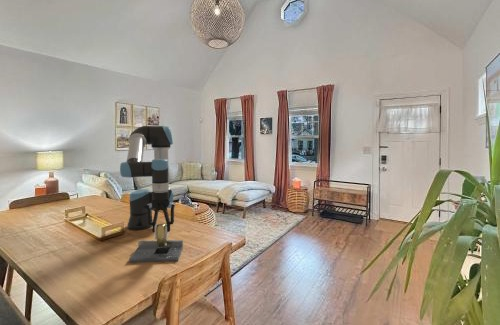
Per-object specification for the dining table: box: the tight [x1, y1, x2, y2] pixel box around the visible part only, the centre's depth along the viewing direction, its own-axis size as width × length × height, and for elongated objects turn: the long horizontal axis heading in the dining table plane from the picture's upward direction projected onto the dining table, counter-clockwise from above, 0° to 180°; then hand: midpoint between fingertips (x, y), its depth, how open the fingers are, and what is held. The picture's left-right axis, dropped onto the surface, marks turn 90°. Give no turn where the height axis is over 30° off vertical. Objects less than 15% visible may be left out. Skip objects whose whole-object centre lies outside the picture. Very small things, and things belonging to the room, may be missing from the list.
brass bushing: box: [156, 223, 168, 247], centre depth 125 cm, size 4×4×10 cm
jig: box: [128, 239, 184, 263], centre depth 126 cm, size 22×14×4 cm, turn 95°
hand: (161, 238), depth 125 cm, fingers closed on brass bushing, 4 cm apart
